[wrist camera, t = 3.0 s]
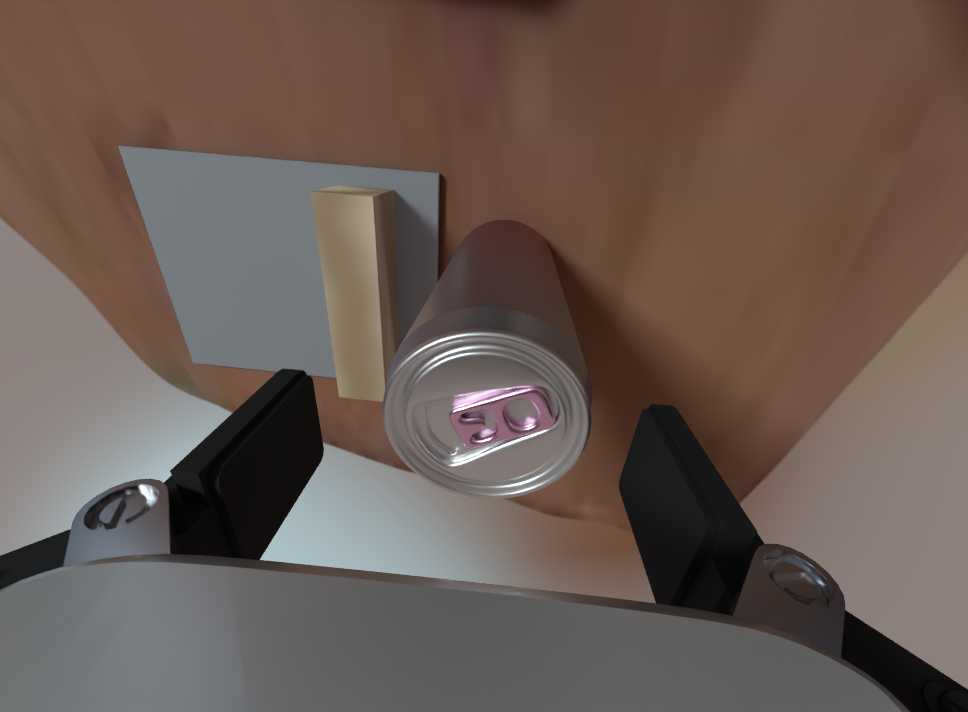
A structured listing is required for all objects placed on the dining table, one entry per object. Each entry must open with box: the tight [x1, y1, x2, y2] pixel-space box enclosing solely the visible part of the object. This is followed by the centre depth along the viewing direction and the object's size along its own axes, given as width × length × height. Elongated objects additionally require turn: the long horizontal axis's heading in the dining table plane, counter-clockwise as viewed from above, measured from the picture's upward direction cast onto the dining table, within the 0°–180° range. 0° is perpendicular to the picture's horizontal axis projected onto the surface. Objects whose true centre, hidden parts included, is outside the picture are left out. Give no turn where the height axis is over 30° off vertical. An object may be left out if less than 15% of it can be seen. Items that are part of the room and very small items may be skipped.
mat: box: [118, 146, 440, 378], centre depth 24 cm, size 18×14×1 cm
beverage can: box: [382, 220, 592, 499], centre depth 17 cm, size 6×6×15 cm
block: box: [311, 185, 400, 402], centre depth 23 cm, size 3×12×4 cm, turn 176°
